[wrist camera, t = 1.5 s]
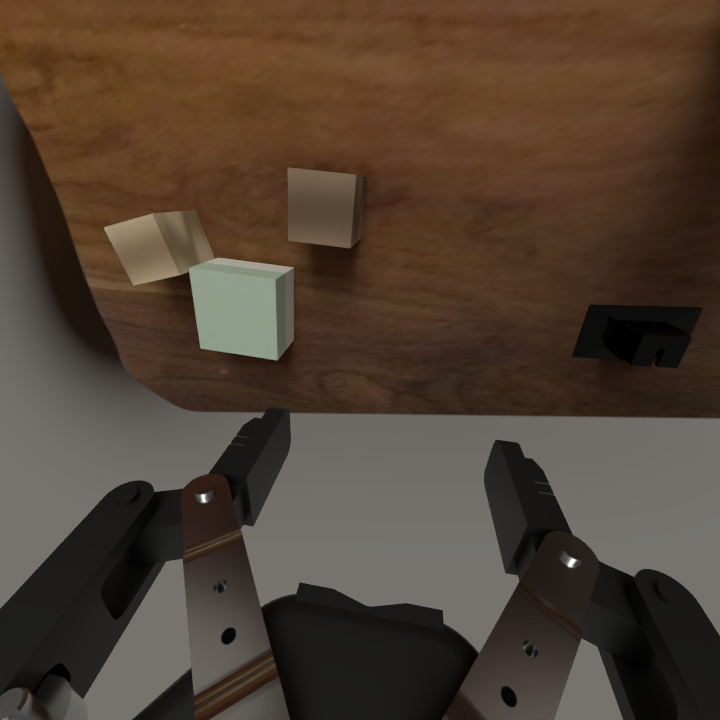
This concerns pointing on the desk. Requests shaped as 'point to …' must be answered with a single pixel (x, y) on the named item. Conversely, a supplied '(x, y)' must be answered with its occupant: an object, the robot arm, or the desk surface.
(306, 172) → the walnut brick
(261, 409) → the desk surface
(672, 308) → the black angular block
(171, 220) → the brick
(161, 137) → the desk surface
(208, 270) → the brick base
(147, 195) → the desk surface
